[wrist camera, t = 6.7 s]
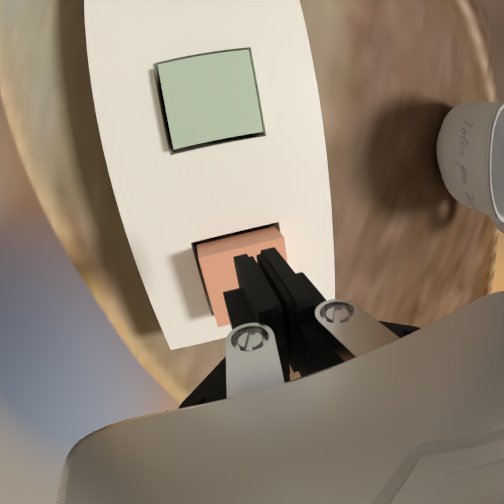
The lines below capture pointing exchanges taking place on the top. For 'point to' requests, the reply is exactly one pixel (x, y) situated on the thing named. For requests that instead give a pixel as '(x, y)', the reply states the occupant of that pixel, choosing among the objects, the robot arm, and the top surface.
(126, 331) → the top surface
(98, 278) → the top surface
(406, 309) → the top surface
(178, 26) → the button panel
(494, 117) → the teacup
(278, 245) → the terracotta button
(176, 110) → the sage button
